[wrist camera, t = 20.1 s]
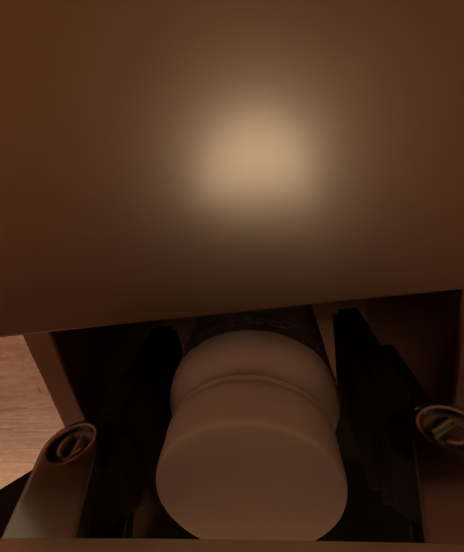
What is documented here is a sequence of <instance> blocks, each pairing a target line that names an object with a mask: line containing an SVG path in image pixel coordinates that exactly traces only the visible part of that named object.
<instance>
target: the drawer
mask: <svg viewBox="0 0 464 552" xmlns="http://www.w3.org/2000/svg"><path fill="white" fill-rule="evenodd" d="M311 306H312V309H313V312H314V315H315V317H316V320H317V324H318V327H319V330H320V334H321V336H322V339H323V342H324V347H325V350H326V354H327V357H328V359H329V363H330V367H331V369H332V372H333V375H334V378H335V379H337V375H336V360H335V344H334V328H333V314H336V313H338V312H339V309H343V308H353V307H357V308H358V309H359V311H360V313H361V314H362V316H363V317H364V319H365V321H366V322H367V324H368V325H369V327H370V329H371V330H372V332H373V333H374V335H375V337H376V338H377V340H378V341H379V343H380V345H387V344H391V345H393V346H394V347H395V348H396V350H397V351H398V353H399V354H400V355H401V357H402V358H403V360H404V361H405V363H406V364H407V366H408V367H409V368H410V370H411V371H412V373H413V374H414V376H415V377H416V379H417V380H418V381H419V383H420V384H421V386H422V387H423V389H424V390H425V392H426V393H427V394H428V396H429V397H430V399H431V400H432V402H443V403H448V404H452V405H457V406H459V407H461V408H464V289H456V290H447V291H437V292H427V293H418V294H408V295H399V296H389V297H379V298H370V299H360V300H351V301H341V302H331V303H322V304H312V305H311ZM197 319H198V316H197V317H188V318H178V319H168V320H159V321H149V322H140V323H130V324H120V325H111V326H101V327H92V328H82V329H72V330H63V331H53V332H44V333H34V334H24V335H23V336H24V338H25V341H26V343H27V345H28V347H29V349H30V352H31V354H32V356H33V358H34V360H35V362H36V365H37V367H38V369H39V371H40V373H41V376H42V378H43V380H44V382H45V384H46V386H47V389H48V391H49V393H50V395H51V397H52V400H53V402H54V404H55V406H56V408H57V410H58V413H59V415H60V417H61V419H62V421H63V424H64V426H65V427H67V426H68V425H70V424H73V423H76V422H79V421H84V420H89V421H94V420H95V418H96V417H97V415H98V414H99V409H100V408H101V406H102V405H103V403H104V402H105V400H106V399H107V397H108V396H109V394H110V393H111V391H112V390H113V388H114V387H115V385H116V384H117V382H118V381H119V379H120V378H121V376H122V375H123V373H124V372H125V370H126V369H127V367H128V366H129V364H130V363H131V361H132V360H133V358H134V357H135V355H136V354H137V352H138V351H139V349H140V348H141V346H142V345H143V343H144V342H145V340H146V339H147V337H148V336H149V334H150V333H151V331H152V330H153V329H154V328H155V327H164V326H171V327H172V329H173V330H174V329H176V330H177V332H178V335H179V339H180V343H181V346H182V350H183V353H184V351H185V348H186V346H187V344H188V341H189V339H190V336H191V334H192V331H193V328H194V326H195V323H196V321H197ZM337 388H338V386H337ZM338 393H339V390H338ZM339 399H340V417H339V421H338V425H337V428H336V431H335V434H336V437H337V441H338V445H339V450H340V454H341V458H342V462H343V466H344V470H345V474H346V479H347V487H348V495H347V503H346V506H345V509H344V512H343V514H342V516H341V518H340V520H339V521H338V522H337V524H336V525H335V526H334V527H333V528H332V529H331V530H330V531H328V532H327V533H326V534H325V535H324V536H322V537H320V538H319V539H317V540H316V541H345V542H397V543H409V537H408V524H407V517H406V516H404V515H403V514H402V513H400V512H399V511H398V510H396V509H395V508H393V506H392V505H383V503H382V500H381V497H380V494H379V491H378V490H371V489H370V487H369V484H368V481H367V478H366V475H365V471H364V468H363V465H362V462H361V459H360V456H359V453H358V450H357V446H356V443H355V440H354V437H353V434H352V431H351V428H350V424H349V421H348V418H347V415H346V412H345V409H344V406H343V403H342V399H341V396H340V393H339ZM132 538H138V539H200V538H198V537H196V536H194V535H193V534H191V533H190V532H188V531H187V530H185V529H184V528H183V527H182V526H180V525H179V524H178V523H177V522H176V521H175V520H174V519H173V518H172V517H171V516H170V515H169V514H168V512H167V511H166V509H165V508H164V506H163V505H162V503H161V501H160V499H159V496H158V498H157V501H156V505H155V506H139V508H138V509H137V510H135V511H134V522H133V533H132Z"/></svg>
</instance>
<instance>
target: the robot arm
mask: <svg viewBox="0 0 464 552" xmlns="http://www.w3.org/2000/svg"><path fill="white" fill-rule="evenodd" d="M333 328H334V344H335V360H336V375H337V385H338V390H339V393H340V396H341V399H342V403H343V406H344V409H345V412H346V415H347V418H348V421H349V424H350V428H351V431H352V434H353V437H354V440H355V443H356V446H357V450H358V453H359V456H360V459H361V462H362V465H363V468H364V471H365V475H366V478H367V481H368V484H369V487H370V489H371V490H378V491H379V494H380V497H381V500H382V503H383V505H392V506H393V508H395V509H396V510H398V511H399V512H400V513H402V514H403V515H404V516H406V517H407V524H408V537H409V543H397V542H345V541H293V540H224V539H138V538H132V533H133V522H134V511H135V510H137V509H138V508H139V506H155V505H156V501H157V498H158V493H157V487H156V469H157V465H158V461H159V457H160V454H161V451H162V448H163V445H164V441H165V438H166V433H167V429H168V426H169V423H170V421H171V419H172V414H171V409H170V391H171V385H172V381H173V378H174V374H175V372H176V369H177V367H178V364H179V362H180V360H181V357H182V355H183V350H182V346H181V343H180V339H179V335H178V332H177V330H176V329H174V330H173V329H172V327H171V326H164V327H155V328H154V329H153V330H152V331H151V333H150V334H149V336H148V337H147V339H146V340H145V342H144V343H143V345H142V346H141V348H140V349H139V351H138V352H137V354H136V355H135V357H134V358H133V360H132V361H131V363H130V364H129V366H128V367H127V369H126V370H125V372H124V373H123V375H122V376H121V378H120V379H119V381H118V382H117V384H116V385H115V387H114V388H113V390H112V391H111V393H110V394H109V396H108V397H107V399H106V400H105V402H104V403H103V405H102V406H101V408H100V409H99V414H98V415H97V417H96V418H95V420H94V421H89V420H84V421H79V422H76V423H73V424H70V425H68V426H67V427H65V428H63V429H61V430H60V431H59V432H57V433H56V434H55V435H53V436H52V437H51V438H50V439H49V440H48V442H47V443H46V444H45V445H44V447H43V449H42V450H41V452H40V454H39V456H38V459H37V461H36V463H35V465H34V467H33V470H32V471H30V472H28V473H27V474H25V475H23V476H22V477H20V478H18V479H17V480H15V481H13V482H12V483H10V484H8V485H7V486H5V487H4V488H2V489H0V552H464V408H461V407H459V406H457V405H452V404H448V403H443V402H432V400H431V399H430V397H429V396H428V394H427V393H426V392H425V390H424V389H423V387H422V386H421V384H420V383H419V381H418V380H417V379H416V377H415V376H414V374H413V373H412V371H411V370H410V368H409V367H408V366H407V364H406V363H405V361H404V360H403V358H402V357H401V355H400V354H399V353H398V351H397V350H396V348H395V347H394V346H393V345H391V344H387V345H380V343H379V341H378V340H377V338H376V337H375V335H374V333H373V332H372V330H371V329H370V327H369V325H368V324H367V322H366V321H365V319H364V317H363V316H362V314H361V313H360V311H359V309H358V308H357V307H353V308H343V309H339V312H338V313H336V314H333Z"/></svg>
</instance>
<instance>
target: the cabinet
mask: <svg viewBox="0 0 464 552" xmlns="http://www.w3.org/2000/svg"><path fill="white" fill-rule="evenodd" d="M456 289H464V0H0V337H5V336H15V335H24V334H34V333H44V332H53V331H63V330H72V329H82V328H92V327H101V326H111V325H120V324H130V323H140V322H149V321H159V320H168V319H178V318H188V317H197V316H207V315H216V314H226V313H236V312H245V311H255V310H264V309H274V308H283V307H293V306H303V305H312V304H322V303H331V302H341V301H351V300H360V299H370V298H379V297H389V296H399V295H408V294H418V293H427V292H437V291H447V290H456Z"/></svg>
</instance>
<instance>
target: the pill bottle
mask: <svg viewBox="0 0 464 552" xmlns="http://www.w3.org/2000/svg"><path fill="white" fill-rule="evenodd" d="M170 409H171V414H172V419H171V421H170V423H169V426H168V429H167V433H166V438H165V441H164V445H163V448H162V451H161V454H160V457H159V461H158V465H157V469H156V487H157V493H158V496H159V499H160V501H161V503H162V505H163V506H164V508H165V509H166V511H167V512H168V514H169V515H170V516H171V517H172V518H173V519H174V520H175V521H176V522H177V523H178V524H179V525H180V526H182V527H183V528H184V529H185V530H187V531H188V532H190V533H191V534H193V535H194V536H196V537H198V538H200V539H224V540H293V541H316V540H317V539H319V538H320V537H322V536H324V535H325V534H326V533H327V532H328V531H330V530H331V529H332V528H333V527H334V526H335V525H336V524H337V522H338V521H339V520H340V518H341V516H342V514H343V512H344V509H345V506H346V503H347V495H348V487H347V479H346V474H345V470H344V466H343V462H342V458H341V454H340V450H339V445H338V441H337V437H336V434H335V431H336V428H337V425H338V421H339V417H340V399H339V393H338V388H337V385H336V381H335V378H334V375H333V372H332V369H331V367H330V363H329V359H328V357H327V354H326V350H325V347H324V342H323V339H322V336H321V334H320V330H319V327H318V324H317V320H316V317H315V315H314V312H313V309H312V306H311V305H303V306H293V307H283V308H274V309H264V310H255V311H245V312H236V313H226V314H216V315H207V316H198V319H197V321H196V323H195V326H194V328H193V331H192V334H191V336H190V339H189V341H188V344H187V346H186V348H185V351H184V353H183V355H182V357H181V360H180V362H179V364H178V367H177V369H176V372H175V374H174V378H173V381H172V385H171V391H170Z"/></svg>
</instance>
